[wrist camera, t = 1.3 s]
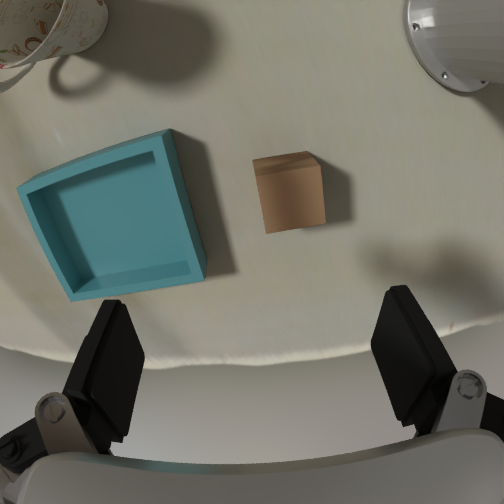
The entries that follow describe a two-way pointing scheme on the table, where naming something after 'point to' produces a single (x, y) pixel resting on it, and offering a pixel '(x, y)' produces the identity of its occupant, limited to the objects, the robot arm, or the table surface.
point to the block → (290, 191)
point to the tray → (117, 220)
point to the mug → (46, 31)
